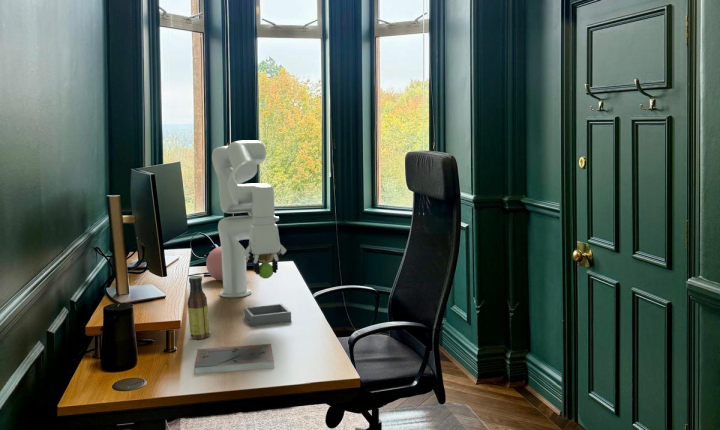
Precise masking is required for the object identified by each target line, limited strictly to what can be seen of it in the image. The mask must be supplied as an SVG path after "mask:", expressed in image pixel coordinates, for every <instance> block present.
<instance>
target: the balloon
mask: <svg viewBox="0 0 720 430" xmlns="http://www.w3.org/2000/svg"><path fill="white" fill-rule="evenodd" d="M249 260H250V259H249V258H248V257H246V263H248V261H249ZM205 264H206V265H205V266H206V270H207V272H208V274H209V275H210V276H211V277H212V278H213V279H214V280H217V281H219V282H220V281H221V282H223V272H222V252H221V246H217V247H215V248H214V249H212V250H211V251H210V252H209V254H208V255H207V258H206V263H205Z"/></svg>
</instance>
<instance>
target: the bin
mask: <svg viewBox="0 0 720 430" xmlns="http://www.w3.org/2000/svg"><path fill="white" fill-rule="evenodd" d="M243 311H244V318H245V320H246V321H247V322H248V323H249V324H250V326H251V327H252V326H253V327H259V326H267V325H276V324H283V323H292V311H291V310H289V309H288V307H286V306H285V305H284V304H283V303H275V304H266V305H265V304H264V305H257V306H250V307H244V309H243Z"/></svg>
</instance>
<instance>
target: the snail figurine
mask: <svg viewBox="0 0 720 430" xmlns="http://www.w3.org/2000/svg"><path fill="white" fill-rule="evenodd" d="M273 258H274V253H272V254H262V255H259V257H258V263H260V264H259V275H258V276H259V277H260V278H261V279H270V278H271V277H272V276H273V274H274V272H273V271H274V270H273V267H272V260H273Z"/></svg>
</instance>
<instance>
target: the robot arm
mask: <svg viewBox="0 0 720 430" xmlns="http://www.w3.org/2000/svg"><path fill="white" fill-rule="evenodd" d="M266 158H267V150H266V147H265V145H264V144H263V142H261V141H260V140H236V141H232V142H231V143H230V144H228V145H223V146H218V147H216V148H214V149H213V150H212V154H211V162H212V166H213V169H214V171H215V174H216V176H217V181H218V192H219V193H218V194H219V205H220V210H221V211H222V212H223V213H225V214H241V213H247V215H238V216H227V217H224V218H222V219H220V220H219V221H218V225H217V230H218V236H219V241H220V247H221V252H222V272H223V281H222V288H223V289H222V290H220V291H219V296H220V297H223V298H242V297H247V296H249V295H251V294H252V290H251V289H250V288H248V277H247V276H248V275H247V262H246V257H248V258H249V259H248V260H250V261H251V262H252V264H253V273H255V274H256V275H257V276H259V266H260V264H259V263H260V262H259V261H258V260H259V255H262V254H272V253H274V258H273V260H272V261H271V265H272V267H273V270H274V271H273V274H276V273H277V271H278V270H279V268H278V267H279V266H278V265H279V264H278V262H279V260H280V259H281V258H282V257H283V255H284V254H286V252H287V249H286V248H285V247H284V245H282V244H281V242H280V241H281V239H280V235H279V228H278V224H276V222H278V221H280V217H279V216H276V215H275V189H274V187H273V186H272V185H270V184H268V183H267V182H266V183H265V182H263V183H262V182H261V183H245V182H247V181H249V180H251V179H252V178H254V177H255V176H256V174H257V172H258V165H261V164H262V163H263V162H265V160H266ZM243 240H249V241H248V246H247V247H246V248H244V246H243V245H242V244H241V243H240V242H239V241H243ZM250 253H251V254H253V256H252V255H251V254H250Z"/></svg>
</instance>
